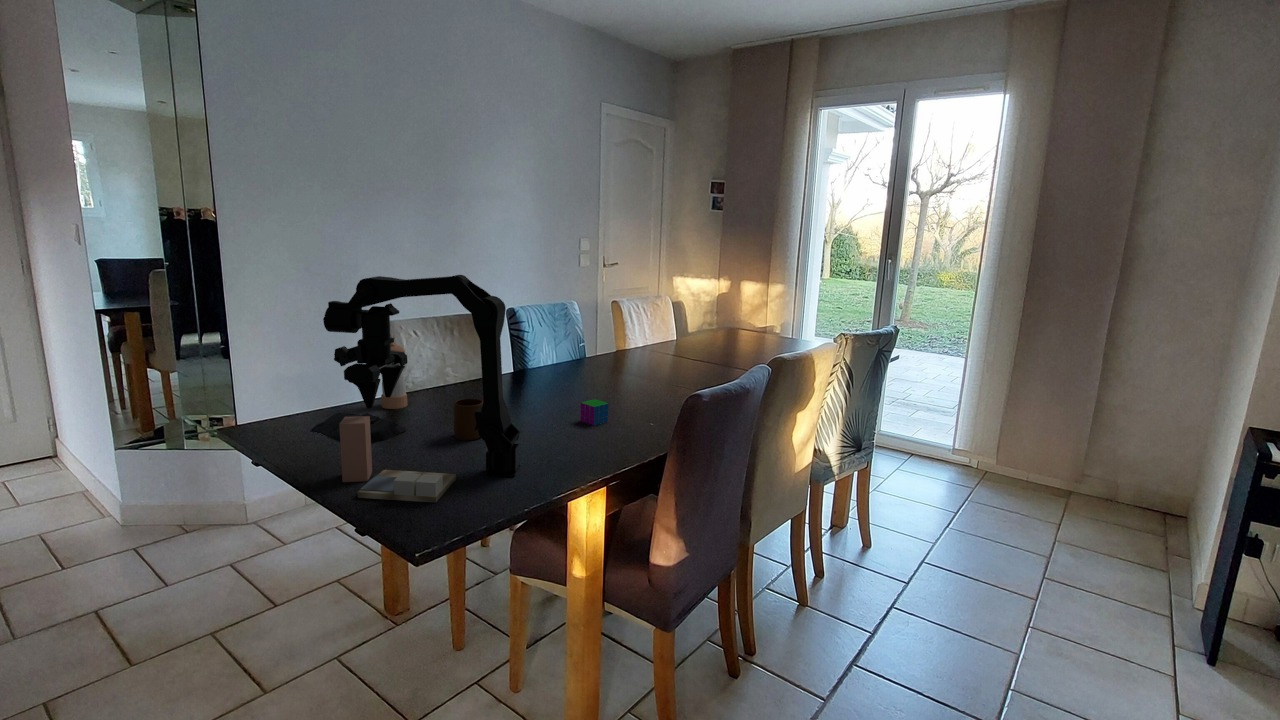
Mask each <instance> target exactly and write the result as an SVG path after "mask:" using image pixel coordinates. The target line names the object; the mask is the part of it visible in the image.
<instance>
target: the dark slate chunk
mask: <svg viewBox="0 0 1280 720" xmlns="http://www.w3.org/2000/svg"><path fill="white" fill-rule="evenodd" d="M356 416H370V434H371V445H372V444H375V443H377V442H383V441H386V440H390V439H393V438H395V437H397V436H399V435H400V434H403V433H405V432H407V428H406V427H404V426H402V425H400V424H397V423H396V422H395V420H394V419H393V420H390V419H389V418H388V419H387V418H383V417H382V418H381V417H380V416H377V415H372V414H370V413H363V414H361V415H360V414H357V413H353V412H337V413H335V414H333V415H332V416H329V417H328V418H326V419H325V420H324V421H321V422H320V423H318V424H317V423H316V424H315V426H313V427H312V428H311V429H310V431H311V430H312V431H314V432H317V433H316V434H318V433H321V434H323V435H326V436H328V437H327V438H329V437H331V438H330V439H332V438H334V439H333V440H336V441H339V440H340V427H339V424H340V422H341V421H342V420H343V419H344V417H356ZM312 431H311V432H312ZM314 432H313V433H314ZM321 434H320V435H321ZM323 435H322V436H323ZM326 436H325V437H326Z"/></svg>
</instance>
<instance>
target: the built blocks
mask: <svg viewBox="0 0 1280 720" xmlns="http://www.w3.org/2000/svg"><path fill="white" fill-rule="evenodd" d="M442 489H443V475H429V474H423V475H422V476H421V474H412V473H401V474H400V475H399V476H398V477H397V478H396V479H395V480H394V494H395V495H411V496H414V495H415V494H416V496H426V497H436V496H437V495H438V494H439V493H440V492H441V491H442Z"/></svg>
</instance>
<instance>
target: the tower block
mask: <svg viewBox="0 0 1280 720" xmlns="http://www.w3.org/2000/svg"><path fill="white" fill-rule="evenodd" d="M339 427H340V441H339V443H340V461H341V477H342V479H341V480H342V481H341V482H342V483H351V482H352V483H355V482H356V483H357V482H358V483H359V482H369V481H370V478H371V475H372V474H373V461H372V459H373V457H372V444H371V434H370V416H361V415H360V416H356V417H344V419H343V420H342V421H341V422H340V424H339Z"/></svg>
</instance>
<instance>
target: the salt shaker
mask: <svg viewBox="0 0 1280 720" xmlns="http://www.w3.org/2000/svg"><path fill="white" fill-rule="evenodd" d="M391 351H398V352H404V353H405V354H406V349H404V347H403V346H400V345H397V344H395V342H393V343H391ZM399 365H400V364H399ZM406 383H407V382H406V378H405V373H404V370H403V371H402V373H401V375H400V377H399V379H398V381H397V384H396V386H395V388H394V390H393V393H392V395H391V397H385V393H384V387H383V380H382V379H381V391H382V394H381V396H380V397H381V398H380V399H381V401H380V402H381V408H383V409H385V410H400V409H402V408H407V406H408V394H407V392H406V387H407V386H406V385H407V384H406Z"/></svg>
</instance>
